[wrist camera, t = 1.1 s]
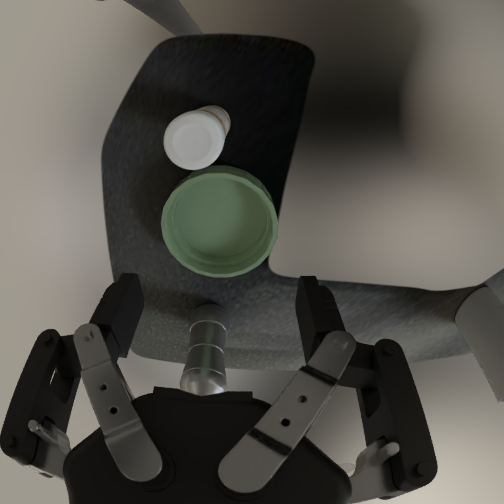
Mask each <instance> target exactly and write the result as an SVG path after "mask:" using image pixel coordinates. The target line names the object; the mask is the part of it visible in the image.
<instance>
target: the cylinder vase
mask: <svg viewBox="0 0 504 504" xmlns="http://www.w3.org/2000/svg"><path fill="white" fill-rule="evenodd" d="M455 323H456V325H457V327H458V329H459V330H460V332H461V333H462V335H463V337H464V338H465V340H466V342H467V343H468V345H469V347H470V349H471V350H472V352H473V354H474V356H475V357H476V359H477V361H478V363H479V365H480V367H481V368H482V370H483V372H484V374H485V376H486V378H487V380H488V382H489V384H490V386H491V388H492V390H493V392H494V394H495V396H496V398H497V401H498V403H502V402H504V305H503V304H502V303H501V301H500V300H499V299H498V298H497V296H496V295H495V294H494V293H493V291H492V290H491V289H490V288H488V287H483V288H480V289H478V290H476V291H474V292H473V293H472V294H471V295H469V296H468V297H467V298H466V299H465V301H464V302H463V303H462V304H461V306H460V307H459V309H458V311H457V313H456V317H455Z"/></svg>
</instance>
